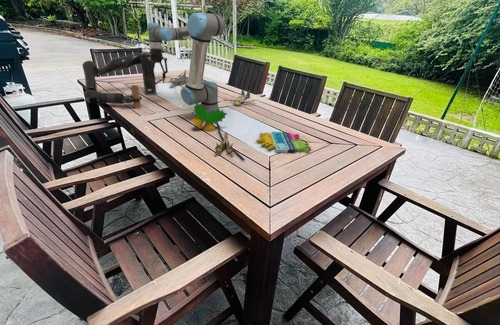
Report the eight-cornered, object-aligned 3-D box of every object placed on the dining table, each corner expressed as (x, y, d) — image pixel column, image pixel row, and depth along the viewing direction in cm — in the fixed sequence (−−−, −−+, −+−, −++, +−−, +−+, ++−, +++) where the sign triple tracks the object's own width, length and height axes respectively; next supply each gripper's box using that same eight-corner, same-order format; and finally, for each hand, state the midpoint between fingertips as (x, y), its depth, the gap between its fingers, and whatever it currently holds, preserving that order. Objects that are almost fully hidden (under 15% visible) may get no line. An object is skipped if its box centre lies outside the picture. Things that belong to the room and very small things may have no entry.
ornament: (218, 133, 171) (224, 110, 169) (221, 134, 163) (227, 111, 161) (186, 125, 162) (192, 101, 160) (189, 126, 155) (195, 101, 153)
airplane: (160, 80, 270) (159, 70, 265) (190, 78, 283) (189, 68, 278) (168, 89, 242) (167, 78, 236) (201, 87, 255) (201, 77, 250)
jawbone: (234, 135, 144) (233, 125, 135) (233, 160, 138) (232, 151, 129) (217, 135, 144) (216, 125, 135) (216, 160, 138) (214, 150, 129)
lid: (155, 78, 191) (155, 75, 190) (163, 78, 192) (163, 76, 191) (154, 79, 186) (153, 77, 185) (162, 80, 187) (162, 77, 186)
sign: (313, 150, 142) (258, 149, 139) (312, 153, 143) (258, 152, 140) (301, 132, 164) (254, 130, 161) (301, 134, 165) (254, 133, 162)
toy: (261, 91, 228) (254, 99, 202) (261, 99, 231) (253, 108, 205) (231, 87, 233) (220, 95, 207) (230, 95, 236) (219, 104, 210)
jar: (142, 107, 192) (139, 86, 184) (135, 108, 188) (132, 87, 181) (139, 105, 194) (136, 84, 187) (133, 107, 191) (129, 85, 184)
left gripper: (110, 95, 179) (136, 96, 181) (118, 90, 191) (142, 91, 193) (113, 106, 183) (138, 107, 184) (120, 100, 195) (143, 101, 197)
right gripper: (169, 48, 185) (172, 81, 196) (141, 47, 179) (145, 81, 190) (170, 49, 179) (173, 83, 190) (141, 48, 173) (145, 84, 184)
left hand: (140, 99), depth 189 cm, fingers closed on jar, 5 cm apart
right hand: (159, 82), depth 190 cm, fingers closed on lid, 6 cm apart
